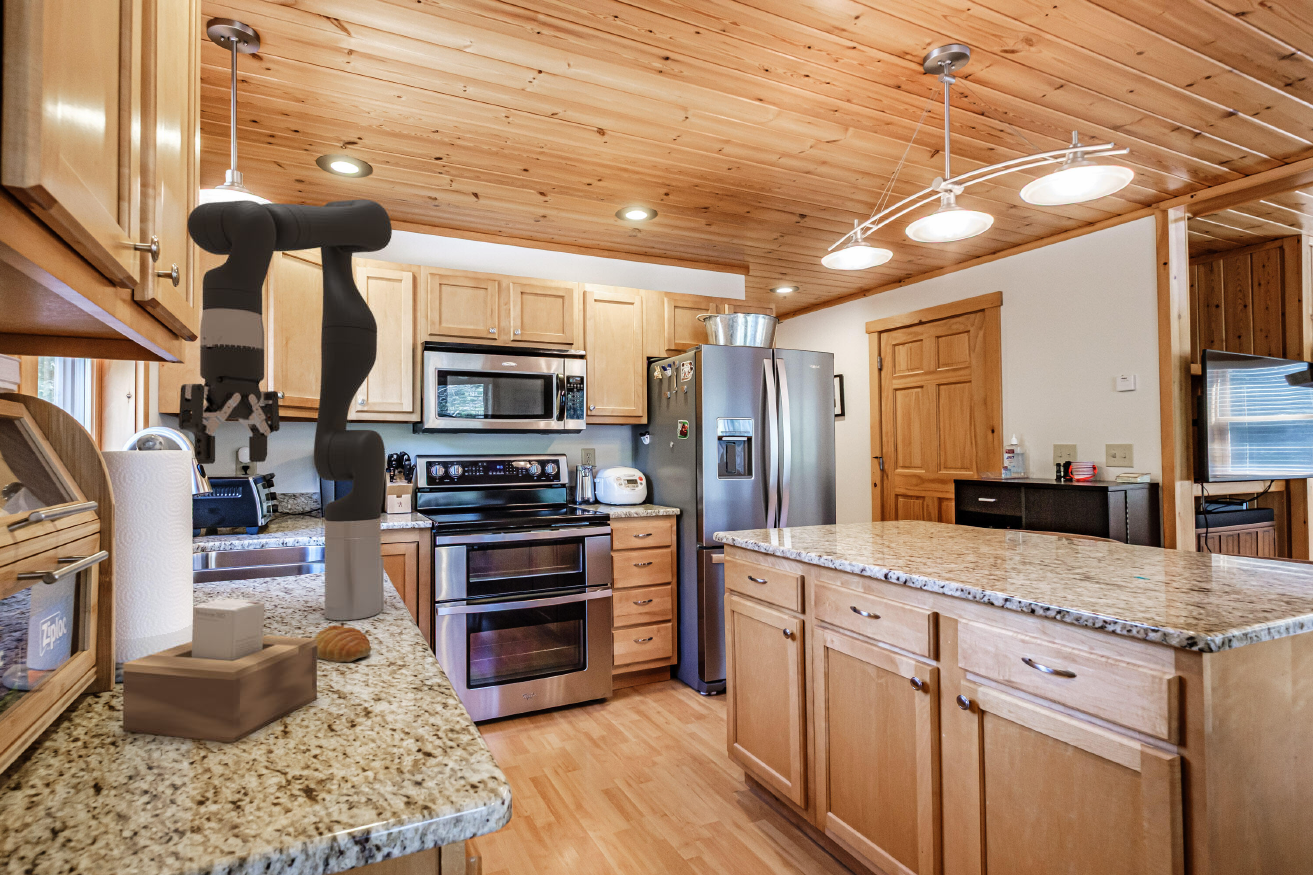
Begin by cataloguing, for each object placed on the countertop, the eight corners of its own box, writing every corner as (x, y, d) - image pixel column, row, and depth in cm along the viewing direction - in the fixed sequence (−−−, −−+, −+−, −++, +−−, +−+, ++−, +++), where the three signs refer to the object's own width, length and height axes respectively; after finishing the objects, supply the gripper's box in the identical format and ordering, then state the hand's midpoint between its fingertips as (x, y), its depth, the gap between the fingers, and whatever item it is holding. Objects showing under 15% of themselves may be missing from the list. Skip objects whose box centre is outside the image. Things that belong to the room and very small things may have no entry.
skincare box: (187, 715, 74) (187, 605, 74) (223, 700, 78) (224, 597, 78) (230, 721, 72) (230, 609, 72) (265, 705, 76) (265, 600, 76)
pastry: (384, 656, 96) (383, 629, 96) (338, 669, 91) (337, 641, 91) (350, 644, 102) (350, 619, 102) (305, 656, 97) (304, 630, 97)
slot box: (219, 690, 83) (219, 632, 83) (316, 698, 80) (316, 638, 80) (123, 730, 71) (123, 663, 71) (233, 742, 68) (233, 672, 68)
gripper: (251, 353, 100) (251, 461, 100) (162, 339, 86) (162, 464, 86) (294, 352, 98) (294, 461, 98) (210, 337, 84) (210, 464, 84)
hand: (232, 462), depth 92 cm, fingers open, 8 cm apart
